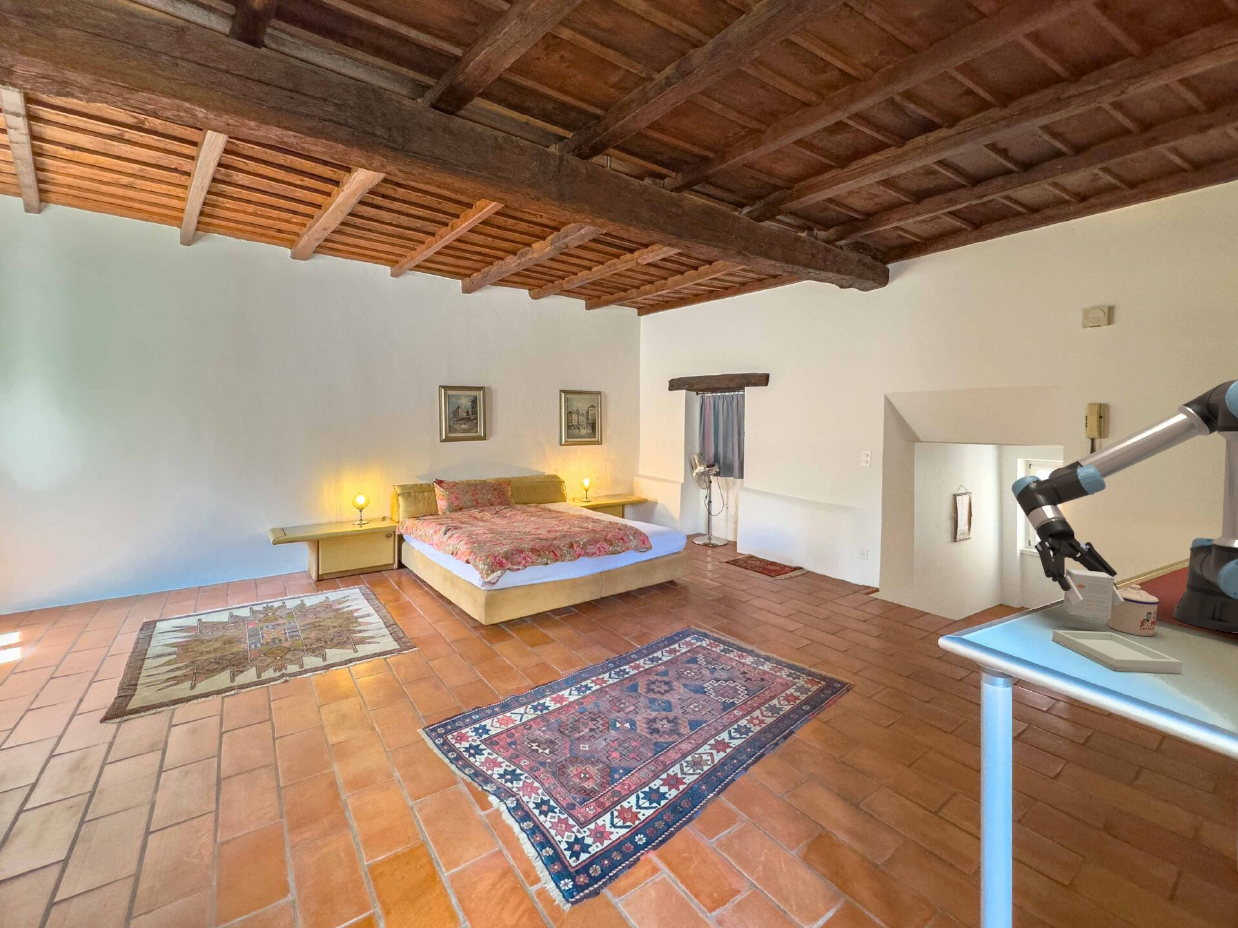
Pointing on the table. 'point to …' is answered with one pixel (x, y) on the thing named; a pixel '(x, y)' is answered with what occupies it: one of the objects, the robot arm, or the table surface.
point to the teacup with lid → (1134, 612)
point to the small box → (1091, 594)
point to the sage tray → (1117, 652)
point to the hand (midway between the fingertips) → (1098, 602)
